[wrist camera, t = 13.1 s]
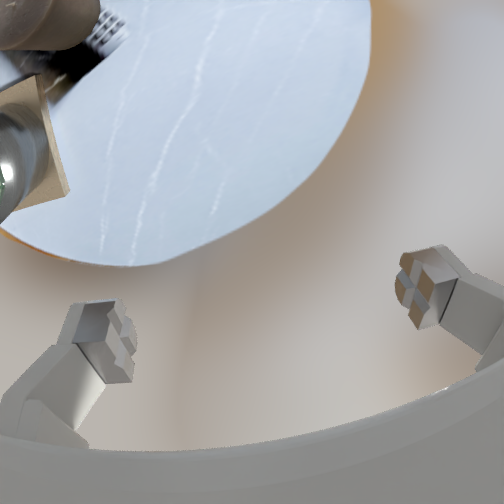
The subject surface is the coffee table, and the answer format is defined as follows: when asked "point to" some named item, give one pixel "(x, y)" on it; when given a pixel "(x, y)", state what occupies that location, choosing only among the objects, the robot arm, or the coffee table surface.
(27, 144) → the green-rimmed dark canister
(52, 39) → the pillar candle
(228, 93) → the coffee table surface
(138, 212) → the coffee table surface
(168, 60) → the coffee table surface
